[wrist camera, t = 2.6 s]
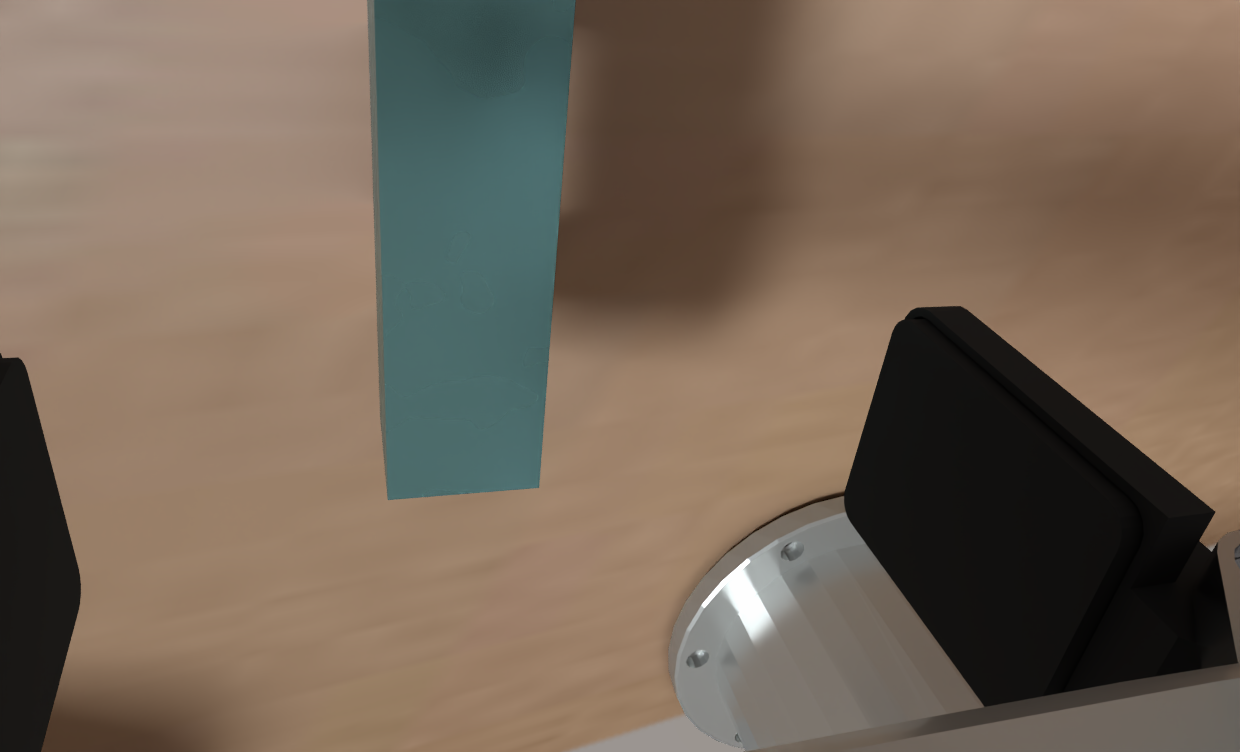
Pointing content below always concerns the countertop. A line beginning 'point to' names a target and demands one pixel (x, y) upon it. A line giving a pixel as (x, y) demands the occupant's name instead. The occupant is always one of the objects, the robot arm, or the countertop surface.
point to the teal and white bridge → (466, 234)
